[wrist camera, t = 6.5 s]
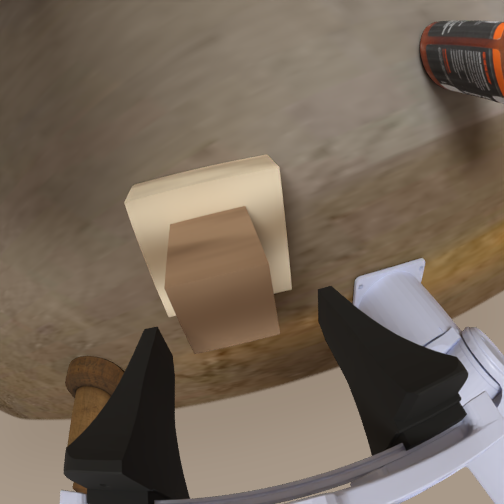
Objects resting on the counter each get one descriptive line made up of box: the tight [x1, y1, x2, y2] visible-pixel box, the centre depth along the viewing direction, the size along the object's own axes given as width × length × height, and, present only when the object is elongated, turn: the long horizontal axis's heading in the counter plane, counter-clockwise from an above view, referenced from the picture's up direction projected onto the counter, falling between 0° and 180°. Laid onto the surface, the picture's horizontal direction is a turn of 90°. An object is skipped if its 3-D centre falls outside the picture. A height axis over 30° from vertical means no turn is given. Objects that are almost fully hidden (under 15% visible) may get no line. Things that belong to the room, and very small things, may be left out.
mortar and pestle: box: [65, 356, 124, 494], centre depth 20 cm, size 7×6×18 cm
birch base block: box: [124, 155, 292, 317], centre depth 20 cm, size 9×9×3 cm
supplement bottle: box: [420, 21, 504, 104], centre depth 12 cm, size 6×6×11 cm
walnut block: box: [164, 206, 280, 354], centre depth 16 cm, size 4×4×6 cm
